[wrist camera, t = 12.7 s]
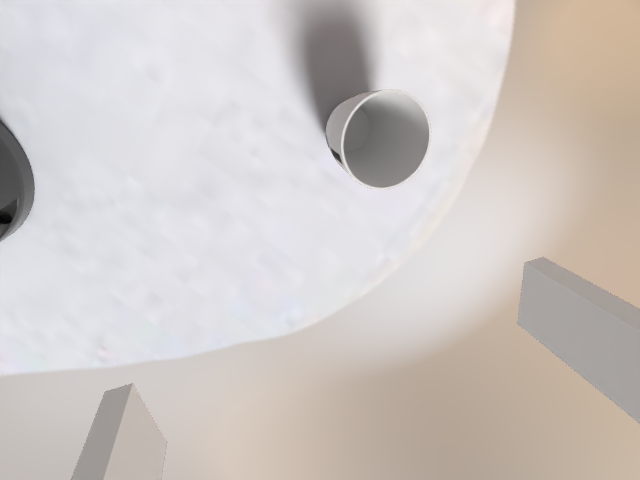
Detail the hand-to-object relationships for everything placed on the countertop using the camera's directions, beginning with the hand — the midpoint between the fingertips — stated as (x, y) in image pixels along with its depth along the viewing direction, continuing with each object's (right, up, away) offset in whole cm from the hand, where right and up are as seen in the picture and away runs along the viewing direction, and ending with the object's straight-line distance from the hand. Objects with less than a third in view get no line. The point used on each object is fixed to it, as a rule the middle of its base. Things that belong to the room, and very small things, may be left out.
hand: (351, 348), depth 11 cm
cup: (+2, +16, +26) cm, 31 cm away
